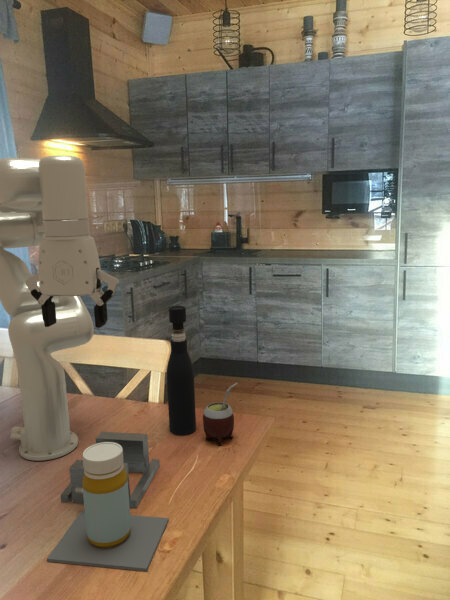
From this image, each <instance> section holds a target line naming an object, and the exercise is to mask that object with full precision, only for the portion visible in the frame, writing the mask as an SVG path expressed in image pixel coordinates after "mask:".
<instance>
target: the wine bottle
mask: <svg viewBox="0 0 450 600" xmlns="http://www.w3.org/2000/svg"><path fill="white" fill-rule="evenodd" d="M168 317H169V318H168V319H169V321H168V322H169V323H171V324H172V332H171V335H170V336H171V339H170V350H171V351H170V354H169V358H168V362H167V367H166V388H167V405H168V406H167V407H168V424H169V425H168V426H169V427H168V428H169V433H170V434H172V435H175V436H182V437H183V436H188V435H191V434H193V433H194V432H196V430H197V418H196V416H197V415H196V394H195V393H196V391H195V373H194V366H193V362H192V359H191V357H190V354H189V351H188V340H187V339H186V332H185V327H184V326H185V325H184V323H186V322H187V307H186V306H183V305H173V306H170V307H169V308H168Z"/></svg>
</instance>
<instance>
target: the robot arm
mask: <svg viewBox="0 0 450 600" xmlns="http://www.w3.org/2000/svg"><path fill="white" fill-rule="evenodd" d="M88 204H89V203H88V194H87V181H86V169H85V164H84V161H83V160H82V159H81V158H80V157H77V156H72V155H50V156H49V155H48V156H44V157H42V158H37V157H36V158H35V157H31V158H30V157H5V158H0V303H1V305H2V307H3V309H4V310H5V313H7V315H9V316H10V317H12V319H11V320H10V321H9V323H8V327H7V329H8V330H7V332H8V338H9V342H10V345H11V348H12V351H13V354H14V355H13V356H14V360H15V363H16V370H17V377H18V378H17V379H18V384H19V392H20V402H21V409H22V410H21V411H22V419H23V421H22V422H23V427H22V426H13V427H12V428H11V431H10V432H11V434H10V440H20V442H21V443H20V444H19V446H18V452H19V456H21V457H22V458H23V459H26V460H28V461H35V462H36V461H40V462H41V461H49V460H54V459H58V458H60V457H62V456H66V455H67V454H69V453H71V452H72V451H74V450H75V448H76V447H77V446H78V445H79V437H78V435H77V434H76V433H75V432H73V431H71V426H70V425H71V424H70V417H69V416H70V415H69V404H68V395H67V394H68V393H67V382H66V374H65V370H64V367H63V365H62V364H61V363H60V362H59V361H58V360H56V359H55V358H54V357H53V356H52V353H55V352H58V351H62V350H66V349H73V348H76V347H80V346H83V345H86V344H88V343H89V342H90V341H91V340H92V338H93V337H94V332H95V328H97V329H100V328H103V326H105V325H107V322H108V307H107V303H108V302H109V301H110V300H111V299H112V297H114V296H115V294H116V290H117V289H118V287H119V284H120V279H119V278H117V277H115V276H113V275H112V274H109V273H107V272H105V271H104V270H102V269H101V262H100V258H99V257H100V256H99V252H98V248H97V245H96V242H95V237H93V236H91V232H90V231H91V230H90V229H91V228H90V218H89V209H88V208H89V207H88V206H89V205H88ZM37 246H38V247H39V249H38V258H37V259H38V264H37V265H38V269H37V270H38V272H37V273H35V274H34V273H31V271H30V270H29V267H28V265H27V264H26V262H25V261H24V260H23V259H22V258H21V257H19V256H18V255H16V254H15V253H12V252H10V251H9V250H7V249H18V248H31V247H37ZM103 282H104V283H106V284H107V285H108V286H107V289H106V290H105V292H104V291H103V290H102V287H103ZM87 296H89V297H90V298H91V299H92V301H94V302H95V304H96V305H94V306H93V313H94V323H93V319H92V316H91V313H90V312H89V310H88V308H87V306H86V305H85V303H84V301H83V299H82V297H87ZM94 325H95V326H94Z"/></svg>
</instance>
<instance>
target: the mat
mask: <svg viewBox="0 0 450 600" xmlns="http://www.w3.org/2000/svg"><path fill="white" fill-rule="evenodd" d="M130 521H131V531H130V533H129V535H128V536H127V538H126V539H125V540H124V541H123V542H122V543H120V544H118V545H116V546H113V547H107V548H102V547H97V546H95V545H93V544H92V543H91V542H90V541H89V540H88V538H87V531H86V520H85V510H81V511H80V512H79V513H78V515H77V516H76V517H75V519H74V520H73V521H72V523H71V524H70V525H69V527H68V529H67V530H66V532H65V533H64V534H63V536H62V537H61V538H60V539H59V541H58V543H57V544H56V545H55V547H54V548H53V549H52V551H51V552H50V554H49V555H48V556H47V558H46V562H49V563H59V564H69V565H76V566H77V565H79V566H87V567H88V566H89V567H98V568H109V569H119V570H128V571H137V572H148V570H149V568H150V566H151V562H152V561H153V559H154V556H155V553H156V552H157V549H158V547H159V544H160V542H161V539H162V537H163V535H164V532H165V530H166V528H167V526H168V524H169V517H160V516H149V515H148V516H147V515H138V514H137V515H135V514H134V515H133V514H130Z"/></svg>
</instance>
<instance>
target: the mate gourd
mask: <svg viewBox="0 0 450 600" xmlns="http://www.w3.org/2000/svg"><path fill="white" fill-rule="evenodd" d="M238 384H239V382H235V383H234V384H232V385H230V386H229V387H228V388H227V389H226V391H225V395H224V398H223V402H220V401H219V402H211V403H209V404H208V405H207V406H206V407H205V408H204V411H203V414H202V420H203V421H202V424H203V431H204V434H205V437H204V438H205V442H211V441H214V442H215V441H217V446H218V447H221V446H222V441H227V440H228V441H229V440H233V438H234V437H233V432H234V427H235V416H234V411H233V409H232V407H231V406H230V405H229V404H227V403H226V402H227V399H228V396H229V395H230V393H231V390H232V388H235V386H237V385H238Z"/></svg>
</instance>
